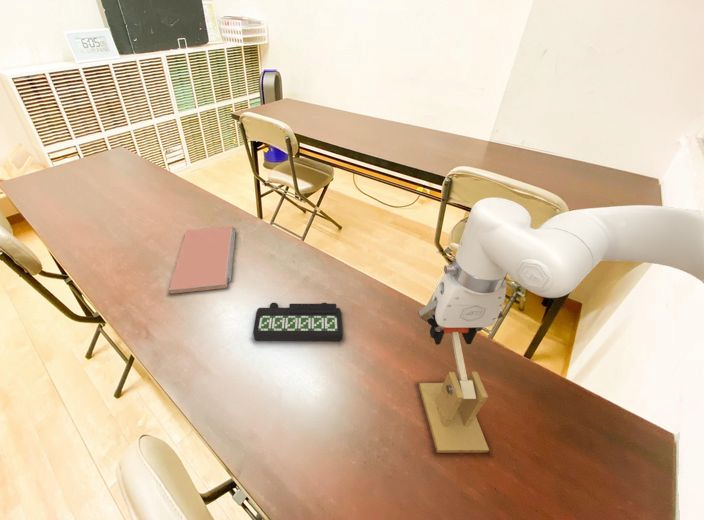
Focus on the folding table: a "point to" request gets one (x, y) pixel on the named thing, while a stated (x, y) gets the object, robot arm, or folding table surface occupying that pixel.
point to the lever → (461, 363)
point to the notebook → (204, 260)
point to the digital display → (298, 323)
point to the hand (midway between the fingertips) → (450, 337)
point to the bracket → (454, 415)
